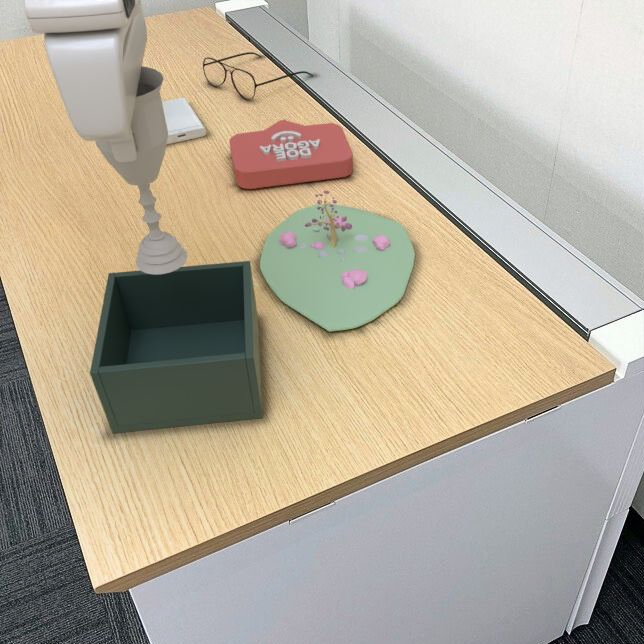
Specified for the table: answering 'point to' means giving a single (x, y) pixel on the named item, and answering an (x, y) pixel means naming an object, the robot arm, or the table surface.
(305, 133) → the plaque
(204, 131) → the hard drive
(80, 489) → the table surface
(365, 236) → the plant
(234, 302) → the tub
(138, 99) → the chalice
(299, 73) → the glasses
